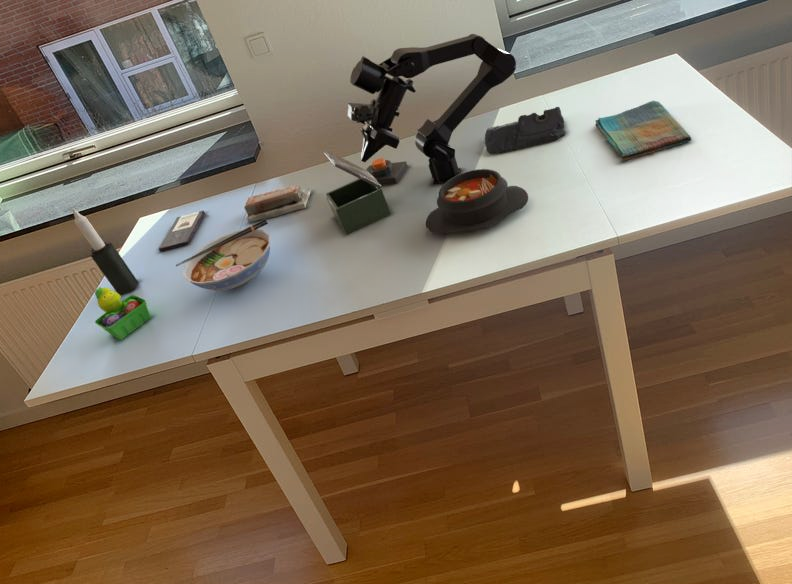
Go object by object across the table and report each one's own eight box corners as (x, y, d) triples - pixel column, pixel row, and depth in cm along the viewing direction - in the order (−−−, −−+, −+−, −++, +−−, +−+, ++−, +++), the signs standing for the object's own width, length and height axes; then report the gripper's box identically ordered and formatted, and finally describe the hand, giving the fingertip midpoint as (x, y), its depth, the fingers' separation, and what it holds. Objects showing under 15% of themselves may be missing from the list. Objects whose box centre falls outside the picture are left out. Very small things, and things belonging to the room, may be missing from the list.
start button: (388, 163, 197) (386, 157, 195) (383, 169, 194) (381, 164, 193) (376, 164, 198) (374, 159, 197) (372, 171, 196) (369, 165, 195)
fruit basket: (118, 345, 168) (91, 308, 161) (103, 335, 174) (75, 300, 167) (157, 316, 174) (132, 279, 167) (141, 308, 179) (116, 272, 172)
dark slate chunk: (486, 133, 201) (482, 118, 198) (562, 115, 196) (560, 98, 193) (485, 157, 189) (481, 141, 186) (567, 138, 184) (564, 121, 181)
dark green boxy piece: (346, 234, 178) (335, 209, 174) (335, 217, 187) (324, 193, 183) (391, 214, 180) (381, 189, 175) (377, 198, 189) (368, 174, 184)
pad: (408, 167, 199) (404, 155, 196) (396, 183, 193) (392, 171, 190) (371, 171, 203) (367, 160, 201) (359, 187, 197) (354, 176, 195)
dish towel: (659, 107, 183) (658, 97, 182) (693, 141, 165) (692, 131, 164) (595, 127, 185) (593, 118, 183) (621, 163, 167) (620, 153, 165)
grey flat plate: (334, 166, 168) (335, 163, 168) (323, 151, 177) (324, 148, 176) (380, 188, 175) (381, 186, 175) (367, 174, 184) (368, 171, 184)
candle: (122, 285, 192) (66, 206, 177) (139, 280, 192) (84, 200, 176) (117, 296, 188) (59, 216, 173) (134, 290, 188) (78, 210, 172)
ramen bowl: (200, 322, 166) (182, 294, 161) (188, 281, 183) (172, 255, 178) (296, 275, 170) (282, 247, 165) (276, 240, 187) (262, 213, 182)
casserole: (521, 183, 173) (514, 152, 168) (537, 219, 158) (529, 186, 153) (424, 213, 175) (414, 183, 170) (431, 251, 161) (420, 219, 155)
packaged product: (240, 209, 197) (247, 192, 204) (247, 224, 200) (255, 207, 207) (299, 193, 193) (305, 177, 201) (306, 208, 196) (311, 192, 204)
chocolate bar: (158, 248, 201) (177, 217, 215) (160, 251, 202) (178, 220, 216) (186, 241, 200) (203, 210, 213) (188, 244, 200) (205, 213, 214)
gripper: (348, 79, 173) (324, 138, 179) (370, 97, 159) (343, 161, 164) (387, 98, 179) (363, 154, 185) (411, 116, 165) (384, 177, 170)
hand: (362, 161), depth 176 cm, fingers closed
